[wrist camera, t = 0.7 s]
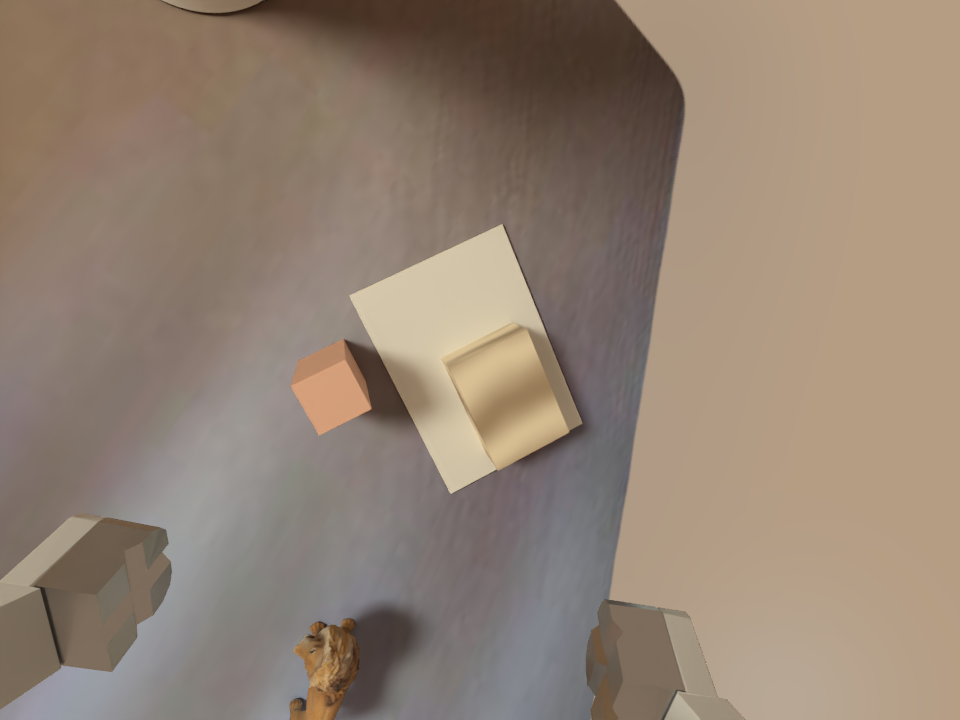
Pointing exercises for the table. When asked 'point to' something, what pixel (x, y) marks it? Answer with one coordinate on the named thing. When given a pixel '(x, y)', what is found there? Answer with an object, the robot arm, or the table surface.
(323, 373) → the pillar
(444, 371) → the mat
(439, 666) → the table surface
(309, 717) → the lion figurine
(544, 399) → the plinth
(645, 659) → the robot arm
